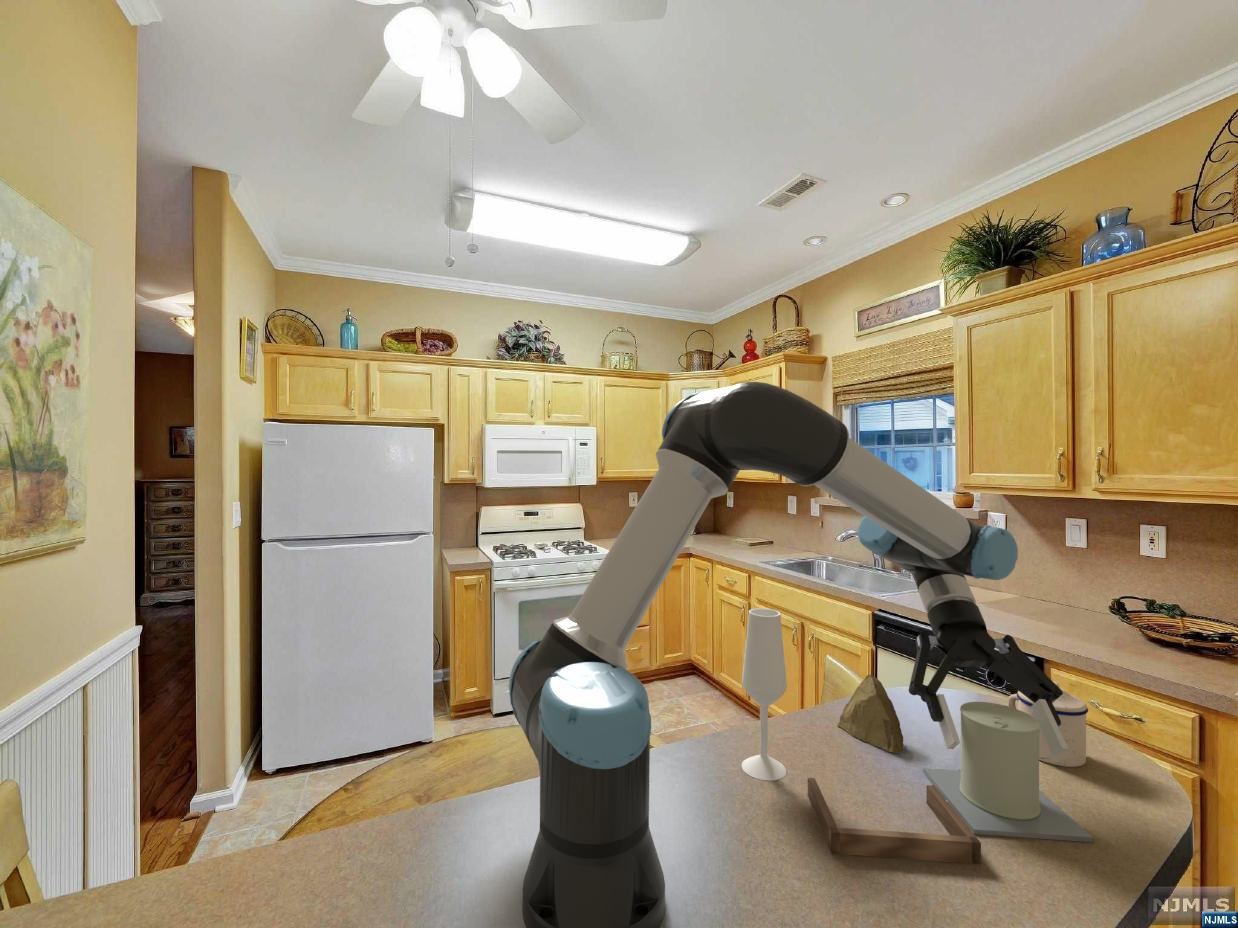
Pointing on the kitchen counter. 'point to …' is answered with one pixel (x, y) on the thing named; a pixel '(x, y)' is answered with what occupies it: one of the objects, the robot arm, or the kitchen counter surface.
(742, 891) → the kitchen counter surface
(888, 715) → the rock
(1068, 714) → the teacup with lid
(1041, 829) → the slate tile
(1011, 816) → the can
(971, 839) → the walnut stall
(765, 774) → the champagne flute
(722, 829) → the kitchen counter surface
